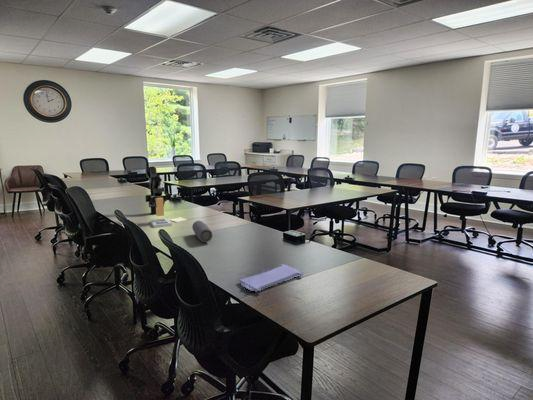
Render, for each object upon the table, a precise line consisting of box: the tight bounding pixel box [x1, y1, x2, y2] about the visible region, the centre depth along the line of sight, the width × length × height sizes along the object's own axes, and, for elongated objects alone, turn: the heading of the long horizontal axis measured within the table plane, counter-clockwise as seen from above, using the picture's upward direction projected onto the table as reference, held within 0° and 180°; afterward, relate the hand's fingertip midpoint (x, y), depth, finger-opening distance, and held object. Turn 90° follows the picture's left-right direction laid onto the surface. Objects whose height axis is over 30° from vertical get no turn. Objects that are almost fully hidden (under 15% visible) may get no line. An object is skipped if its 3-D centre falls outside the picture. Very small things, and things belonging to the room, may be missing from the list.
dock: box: [150, 217, 173, 228], centre depth 252 cm, size 18×13×2 cm
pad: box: [169, 216, 188, 223], centre depth 263 cm, size 10×10×1 cm
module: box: [155, 198, 165, 217], centre depth 252 cm, size 5×5×13 cm
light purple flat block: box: [238, 263, 304, 292], centre depth 156 cm, size 30×4×15 cm
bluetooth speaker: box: [191, 220, 213, 243], centre depth 216 cm, size 23×9×10 cm, turn 23°
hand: (159, 206), depth 251 cm, fingers closed on module, 5 cm apart
